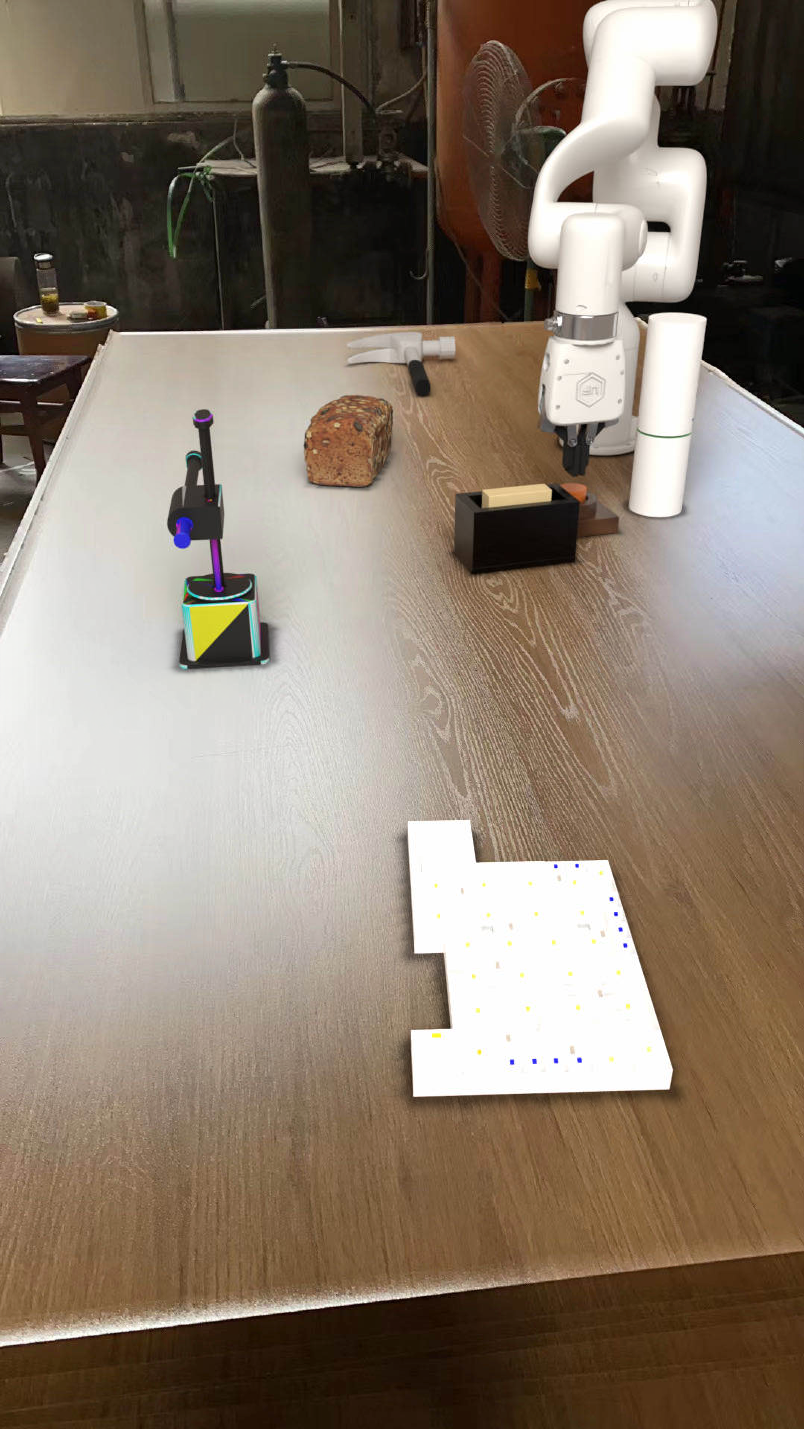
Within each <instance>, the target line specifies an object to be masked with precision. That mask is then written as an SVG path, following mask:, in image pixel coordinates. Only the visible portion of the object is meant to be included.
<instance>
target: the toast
mask: <svg viewBox="0 0 804 1429" xmlns="http://www.w3.org/2000/svg"><path fill="white" fill-rule="evenodd" d="M481 491H482V508H489V507H499V506H508V505H518V504H527V503H536V502H546V501H551V497H552V490H551V489H550V488H549V487H548V486H546V483H537V484H528V485H526V484H525V485H517V486H508V487H496V488H486V489H482V490H481Z"/></svg>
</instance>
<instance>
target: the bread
mask: <svg viewBox="0 0 804 1429" xmlns="http://www.w3.org/2000/svg"><path fill="white" fill-rule="evenodd" d="M393 414H394V409H393V404H392V403H391V402H390V401H388V400H385V399H384V398H382V397H376V396H372V395H362V394H361V395H360V394H349V395H348V394H345V395H342V396H341V397H339V398H338V399H333V400H331V401H329V402H327V403H326V404H325V405H323V406H321V407H320V408H319V409H318V410H317V412H316V414H314V415H313V416H312V417H311V418H310V424H309V425H308V427H307V429H306V430H305V432H304V441H303V460H304V463H305V464H306V469H305V471H306V474H307V479H308V482H310V483H314V484H317V485H321V486H323V485H324V486H341V487H353V488H354V487H355V488H364V487H367V486H369V485H372V484H373V481H374V478H376V477H377V476H378V474H379V472H380V471H381V469H382V468H383V467H384V465H385V463H386V460H387V459H388V456H389V454H390V451H391V448H392V439H393V426H394V416H393Z"/></svg>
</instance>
